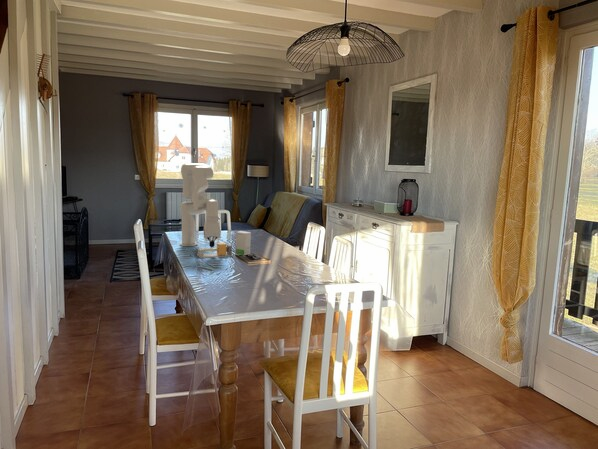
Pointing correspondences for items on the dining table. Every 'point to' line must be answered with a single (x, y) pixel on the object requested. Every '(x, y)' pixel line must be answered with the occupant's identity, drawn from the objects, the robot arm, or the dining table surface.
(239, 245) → the skincare box
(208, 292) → the dining table surface
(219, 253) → the sleeve
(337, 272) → the dining table surface
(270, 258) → the dining table surface
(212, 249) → the rail
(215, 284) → the dining table surface
